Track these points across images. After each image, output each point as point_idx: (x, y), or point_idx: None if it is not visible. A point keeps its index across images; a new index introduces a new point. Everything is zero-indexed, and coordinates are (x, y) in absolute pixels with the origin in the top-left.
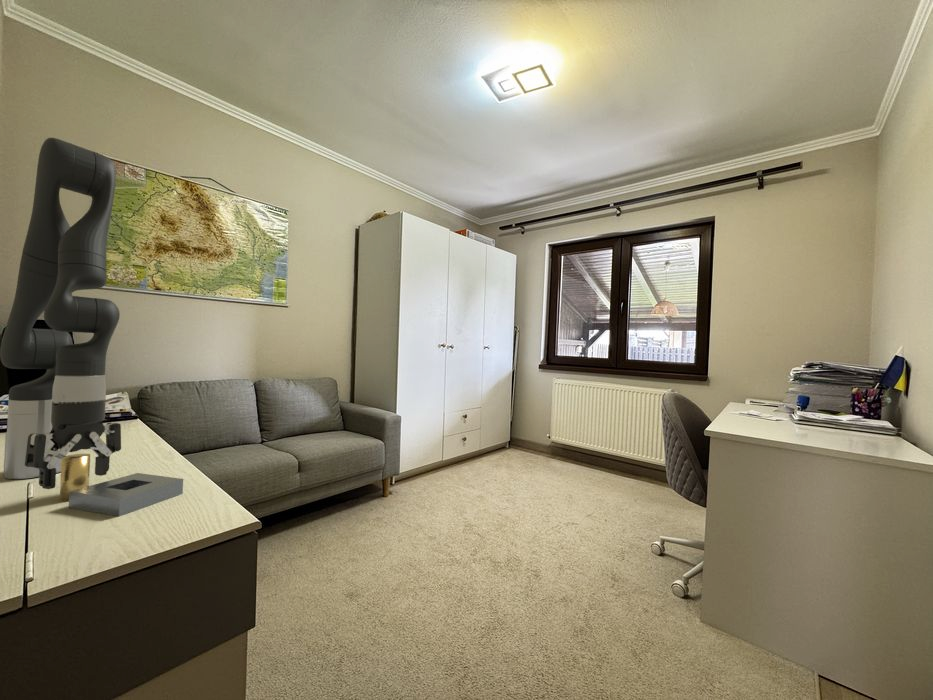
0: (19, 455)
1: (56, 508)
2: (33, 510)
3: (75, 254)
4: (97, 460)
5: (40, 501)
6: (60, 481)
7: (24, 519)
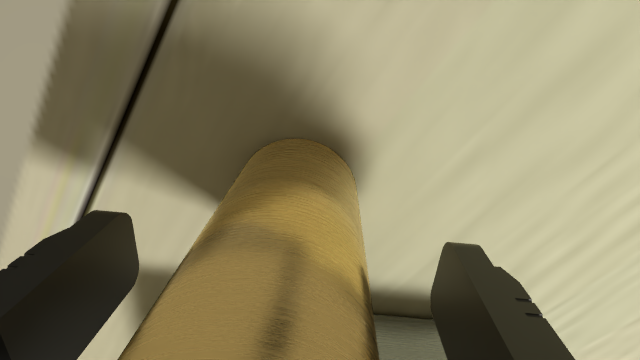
0: None
1: (178, 244)
2: (120, 179)
3: None
4: (491, 356)
5: (206, 67)
6: (212, 215)
7: None
